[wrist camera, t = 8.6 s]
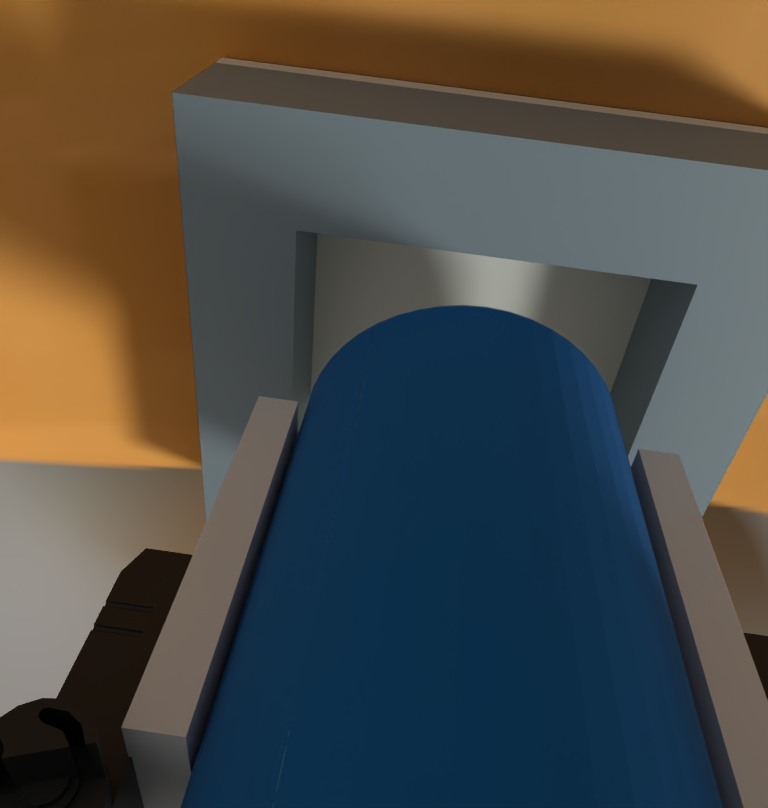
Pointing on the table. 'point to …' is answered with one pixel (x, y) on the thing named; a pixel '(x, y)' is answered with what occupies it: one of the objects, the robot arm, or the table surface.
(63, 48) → the table surface
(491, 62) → the table surface
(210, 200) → the socket block
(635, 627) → the beverage can
